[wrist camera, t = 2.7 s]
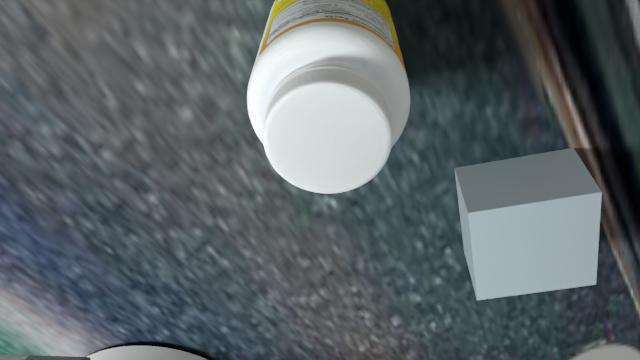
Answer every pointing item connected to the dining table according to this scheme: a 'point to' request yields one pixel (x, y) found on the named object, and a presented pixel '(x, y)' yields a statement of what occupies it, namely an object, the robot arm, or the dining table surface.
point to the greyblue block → (529, 224)
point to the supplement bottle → (328, 92)
